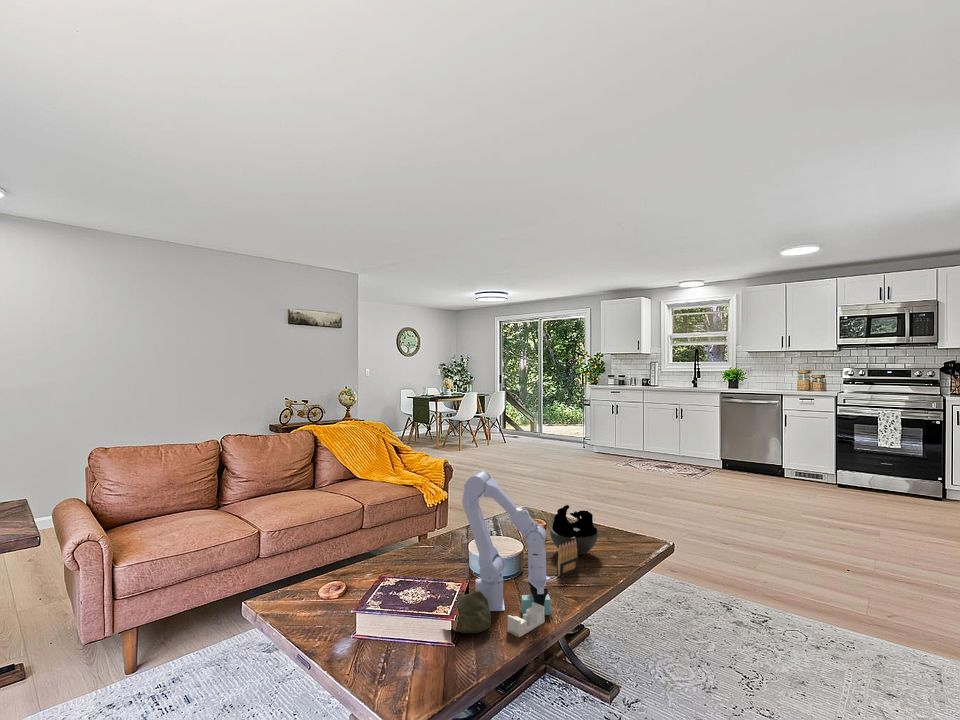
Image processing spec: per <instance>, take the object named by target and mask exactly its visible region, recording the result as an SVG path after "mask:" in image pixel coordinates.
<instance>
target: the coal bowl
mask: <svg viewBox="0 0 960 720" xmlns="http://www.w3.org/2000/svg"><path fill="white" fill-rule="evenodd" d="M569 509H570V505H569V504H565V505H563V507H560V508H558V509H557V510H556V512H557V513H556V514H555V515H554V518H553V523H552V526H551V527H550V528H549V534H550V538H551V541H552V542H553V544H554V546H555V547H556V548H557V549H558V550H559V545H561V548H562V544H564V547H565V543H567V546H568V542H570V545H571V541H572V540H573V544H574V540H575V539H576V543H577V557H578V556H581V555H585V554H587V553H589V551H591V550H592V549H593V547H594V546H595V545H596V543H597V541H598V537H599V531H598V529H597V527H596V526H594V521H593V513H591V512H590V511H589V510H579V511H573V512H569V515H570V516H572V517H573V518H575V519H577V520H576V521H575V522H570V521H569V520H568V519H567V514H568V513H567V512H568V510H569Z"/></svg>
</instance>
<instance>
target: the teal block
mask: <svg viewBox="0 0 960 720" xmlns="http://www.w3.org/2000/svg"><path fill="white" fill-rule="evenodd" d="M520 599H521V602H520V603H521V606H520V609H521V613H522V614H521V615H522V616H523V614H526V610H527V609H529V608H531V607H532V602H534V598H533V595H532V594H521V598H520ZM551 605H552V604H551V596H550V595H549V594H547V595H546V598H545V602H544V616H551V615H552V614H551V607H552V606H551Z"/></svg>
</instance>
